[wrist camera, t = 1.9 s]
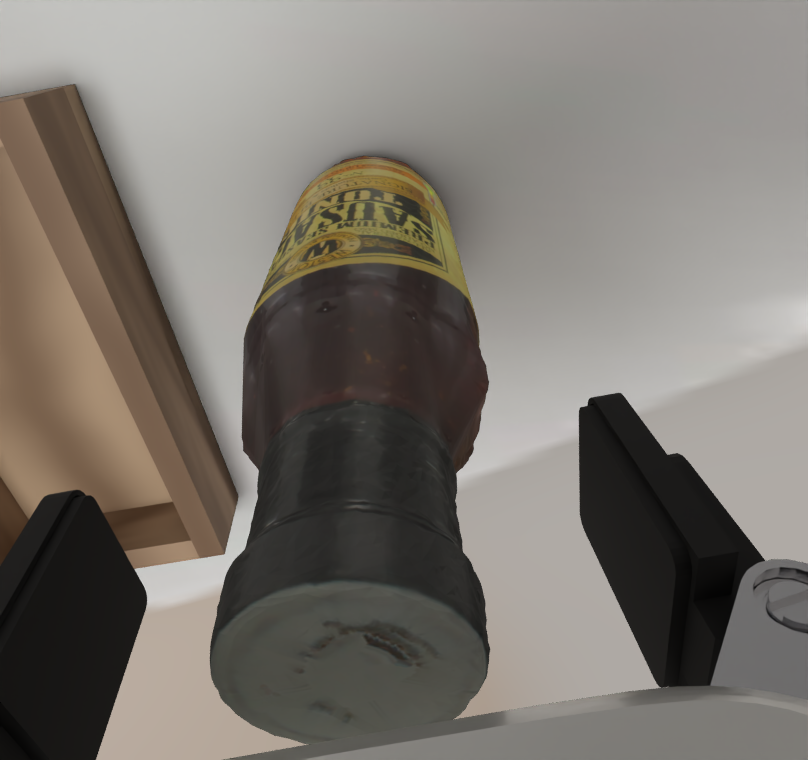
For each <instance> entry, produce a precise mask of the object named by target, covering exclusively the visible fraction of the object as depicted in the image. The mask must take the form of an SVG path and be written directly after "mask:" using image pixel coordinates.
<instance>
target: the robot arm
mask: <svg viewBox="0 0 808 760" xmlns="http://www.w3.org/2000/svg"><path fill="white" fill-rule="evenodd" d="M579 471H580V476H579V477H580V516H581V521H582V525H583V528H584V531H585V533H586V535H587V537H588V539H589V541H590V543H591V546H592V547H593V550H594V552H595V554H596V556H597V558H598V560H599V563H600V564H601V567H602V569H603V571H604V573H605V575H606V577H607V579H608V582H609V584H610V586H611V588H612V590H613V592H614V594H615V596H616V599H617V601H618V603H619V605H620V607H621V609H622V611H623V613H624V615H625V618H626V620H627V622H628V624H629V626H630V628H631V630H632V632H633V634H634V637H635V639H636V641H637V643H638V645H639V647H640V650H641V652H642V654H643V656H644V658H645V660H646V662H647V664H648V666H649V669H650V671H651V673H652V675H653V677H654V679H655V681H656V683H657V684H658V685H659V687H661V688H658V689H648V690H638V691H628V692H621V693H615V694H608V695H602V696H596V697H589V698H582V699H576V700H569V701H562V702H556V703H549V704H543V705H536V706H531V707H524V708H518V709H513V710H507V711H501V712H495V713H489V714H484V715H477V716H472V717H466V718H460V719H454V720H448V721H442V722H436V723H430V724H424V725H419V726H413V727H407V728H401V729H395V730H389V731H383V732H378V733H372V734H366V735H361V736H355V737H349V738H343V739H338V740H332V741H326V742H321V743H315V744H309V745H304V746H298V747H292V748H286V749H281V750H275V751H270V752H264V753H258V754H253V755H247V756H242V757H236V758H230V759H224V760H808V564H807V563H803V562H797V561H793V560H787V559H783V560H782V559H771V560H768V561H765V560H764V558H763V557H762V556H761V554H760V553H759V552H758V551H757V549H756V548H755V547H754V545H753V544H752V543H751V542H750V540H749V539H748V538H747V537H746V535H745V534H744V533H743V531H742V530H741V529H740V527H739V526H738V525H737V524H736V522H735V521H734V520H733V518H732V517H731V516H730V515H729V513H728V512H727V511H726V509H725V508H724V507H723V506H722V504H721V503H720V502H719V501H718V499H717V498H716V497H715V496H714V494H713V493H712V491H711V490H710V489H709V488H708V486H707V485H706V484H705V482H704V481H703V480H702V479H701V477H700V476H699V475H698V473H697V472H696V471H695V470H694V468H693V467H692V466H691V464H690V463H689V462H688V461H687V460H686V459H685V458H684V457H683V456H682V455H680V454H678V453H676V454H670V455H667V454H666V453H665V451H664V450H663V448H662V447H661V446H660V444H659V443H658V442H657V440H656V439H655V438H654V436H653V435H652V434H651V433H650V431H649V430H648V428H647V427H646V426H645V424H644V423H643V421H642V420H641V419H640V417H639V416H638V415H637V413H636V412H635V411H634V409H633V408H632V407H631V405H630V404H629V403H628V401H627V400H626V398H625V397H624V396H623V395H622V394H621V393H615V394H609V395H604V396H598V397H592V398H590V399H589V401H588V406H585V407H581V408H580V410H579ZM146 605H147V595H146V590H145V588H144V586H143V584H142V582H141V581H140V579H139V577H138V575H137V573H136V572H135V570H134V568H133V566H132V564H131V563H130V561H129V559H128V557H127V555H126V554H125V552H124V550H123V548H122V546H121V545H120V543H119V541H118V539H117V537H116V536H115V534H114V532H113V530H112V528H111V527H110V525H109V523H108V521H107V519H106V518H105V516H104V514H103V512H102V510H101V509H100V507H99V505H98V503H97V501H96V500H95V498H94V497H92V496H91V495H85V493H84V492H82V491H81V490H71V491H66V492H60V493H54V494H49V495H46V496H44V498H43V499H42V500H41V501H40V503H39V504H38V506H37V508H36V509H35V511H34V513H33V514H32V516H31V517H30V519H29V521H28V522H27V524H26V525H25V527H24V529H23V530H22V532H21V533H20V535H19V537H18V538H17V540H16V541H15V543H14V545H13V546H12V548H11V549H10V551H9V553H8V554H7V556H6V557H5V559H4V561H3V562H2V564H1V566H0V760H96V757H97V754H98V751H99V748H100V745H101V742H102V739H103V736H104V733H105V730H106V727H107V724H108V721H109V718H110V715H111V712H112V709H113V706H114V703H115V700H116V697H117V694H118V691H119V688H120V685H121V682H122V679H123V676H124V673H125V670H126V667H127V664H128V661H129V658H130V655H131V652H132V649H133V646H134V642H135V640H136V637H137V634H138V631H139V628H140V625H141V622H142V619H143V616H144V613H145V610H146ZM663 687H667V688H663Z"/></svg>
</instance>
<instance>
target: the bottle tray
mask: <svg viewBox="0 0 808 760" xmlns="http://www.w3.org/2000/svg"><path fill="white" fill-rule="evenodd" d="M71 490H81V491H82V492H84V493H85V495H91V496H92V497H94V498H95V500H96V501H97V503H98V505H99V507H100V509H101V510H102V512H103V514H104V516H105V518H106V519H107V521H108V523H109V525H110V527H111V528H112V530H113V532H114V534H115V536H116V537H117V539H118V541H119V543H120V545H121V546H122V548H123V550H124V552H125V554H126V555H127V557H128V559H129V561H130V563H131V564H132V566H133V568H134V569H136V568H142V567H148V566H154V565H161V564H167V563H173V562H179V561H186V560H192V559H198V558H204V557H211V556H217V555H223V554H225V550H226V546H227V542H228V538H229V534H230V530H231V525H232V521H233V517H234V513H235V509H236V505H237V501H238V494H237V492H236V489H235V487H234V484H233V482H232V479H231V477H230V474H229V472H228V469H227V467H226V464H225V462H224V459H223V456H222V454H221V451H220V449H219V446H218V444H217V441H216V439H215V436H214V434H213V431H212V429H211V426H210V424H209V421H208V419H207V416H206V414H205V411H204V409H203V406H202V404H201V401H200V399H199V396H198V394H197V391H196V388H195V386H194V383H193V381H192V378H191V376H190V373H189V371H188V368H187V366H186V363H185V361H184V358H183V356H182V353H181V351H180V348H179V346H178V343H177V341H176V338H175V336H174V333H173V331H172V328H171V326H170V323H169V320H168V318H167V315H166V313H165V310H164V308H163V305H162V303H161V300H160V298H159V295H158V293H157V290H156V288H155V285H154V283H153V280H152V278H151V275H150V273H149V270H148V268H147V265H146V263H145V260H144V258H143V255H142V252H141V250H140V247H139V245H138V242H137V240H136V237H135V235H134V232H133V230H132V227H131V225H130V222H129V220H128V217H127V215H126V212H125V210H124V207H123V205H122V202H121V200H120V197H119V195H118V192H117V190H116V187H115V184H114V182H113V179H112V177H111V174H110V172H109V169H108V167H107V164H106V162H105V159H104V157H103V154H102V152H101V149H100V147H99V144H98V142H97V139H96V137H95V134H94V132H93V129H92V127H91V124H90V122H89V119H88V116H87V114H86V111H85V109H84V106H83V104H82V101H81V99H80V96H79V94H78V91H77V89H76V86H75V84H73V85H67V86H62V87H56V88H51V89H45V90H40V91H34V92H29V93H23V94H18V95H12V96H6V97H1V98H0V566H1V564H2V562H3V561H4V559H5V557H6V556H7V554H8V553H9V551H10V549H11V548H12V546H13V545H14V543H15V541H16V540H17V538H18V537H19V535H20V533H21V532H22V530H23V529H24V527H25V525H26V524H27V522H28V521H29V519H30V517H31V516H32V514H33V513H34V511H35V509H36V508H37V506H38V504H39V503H40V501H41V500H42V499H43V498H44V496H46V495H49V494H54V493H60V492H66V491H71Z"/></svg>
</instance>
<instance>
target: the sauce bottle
mask: <svg viewBox="0 0 808 760" xmlns="http://www.w3.org/2000/svg"><path fill="white" fill-rule="evenodd" d="M488 385H489V381H488V376H487V370H486V364H485V362H484V360H483V358H482V356H481V350H480V348H479V329H478V323H477V320H476V316H475V312H474V309H473V305H472V302H471V298H470V295H469V291H468V287H467V284H466V280H465V277H464V274H463V270H462V266H461V262H460V258H459V255H458V251H457V248H456V245H455V242H454V238H453V235H452V231H451V227H450V223H449V219H448V215H447V213H446V210H445V208H444V206H443V204H442V202H441V200H440V198H439V197H438V195H437V194H436V192H435V191H434V189H433V188H432V187H431V186H430V185H429V184H428V183H427V182H426V181H425V180H424V179H423V178H422V177H421V176H420V175H418V174H417V173H416V172H415V171H413V170H412V169H411V168H410V167H409V166H408V165H407V164H405V163H403V162H400V161H396V160H392V159H388V158H380V157H367V156H362V157H358V158H355V159H347V160H343V161H341V162H340V163H339V164H336V165H334V166H333V167H332V168H330V169H329V170H327V171H325V172H323V173H322V174H321V175H319V176H318V177H317V178H316V179H315V180H313V181H312V182H311V183H310V184H309V186H308V187H307V188H306V189H305V191H304V192H303V194H302V195H301V197H300V199H299V201H298V203H297V205H296V207H295V209H294V212H293V214H292V216H291V219H290V221H289V224H288V226H287V229H286V231H285V233H284V236H283V239H282V241H281V244H280V246H279V248H278V251H277V253H276V256H275V258H274V260H273V263H272V265H271V267H270V269H269V273H268V275H267V278H266V280H265V283H264V285H263V289H262V291H261V294H260V296H259V298H258V300H257V302H256V305H255V307H254V311H253V314H252V316H251V318H250V321H249V323H248V325H247V328H246V332H245V337H244V359H243V405H242V440H243V451H244V452H245V453H246V454H247V455H248V456H249V459H250V460H251V461H252V462H253V464H254V465H255V466H256V467H257V468H258V470H259V475H258V485H257V487H258V490H257V493H258V500H257V503H256V507H255V511H254V516H253V520H252V522H251V529H250V533H249V537H248V540H247V545H246V548H245V550H244V551H243V552H242V553H241V554H240V555H239V556H238V557H237V558H236V559H235V560H234V561H233V563H232V565H231V566H230V568H229V570H228V572H227V574H226V577H225V580H224V585H223V589H222V593H221V596H220V602H219V604H218V607H217V617H216V621H215V626H214V630H213V634H212V639H211V646H210V668H211V677H212V680H213V683H214V685H215V687H216V688H217V689H218V691H219V694H220V697H221V699H222V700H223V701H224V702H225V704H227V705H228V706H229V707H230V708H231V709H232V710H233V711H234V712H235V713H236V714H237V715H238V716H240V717H241V718H243V719H244V720H246V721H247V722H249V723H250V724H251V725H253V726H255V727H257V728H260V729H262V730H264V731H266V732H269V733H270V734H273V735H275V736H279V737H284V738H289V739H292V740H295V741H298V742H301V743H304V744H315V743H321V742H326V741H332V740H338V739H343V738H349V737H355V736H361V735H366V734H372V733H378V732H383V731H389V730H395V729H401V728H407V727H413V726H419V725H424V724H430V723H436V722H442V721H448V720H453V719H454V718H456V717H457V716H459V715H460V714H461V713H462V712H463V711H464V710H465V709H466V707H467V705H468V703H469V701H470V700H471V699H472V698H473V697H474V696H475V695H476V694H477V693H478V692H479V690H480V688H481V686H482V684H483V683H484V681H485V679H486V676H487V670H488V664H489V652H490V647H489V644H488V636H487V631H486V613H485V599H484V595H483V590H482V586H481V583H480V581H479V579H478V577H477V575H476V573H475V572H474V570H473V567H472V564H471V562H470V561H469V559H468V558H467V556H466V555H465V554H464V553H463V550H462V538H461V534H460V529H459V522H458V518H457V514H456V508H457V506H456V503H455V499H456V494H457V477H456V473H457V472H458V471H459V470H460V469H461V468H463V466H464V465H465V464H466V463H467V461H468V460H469V457H470V456H471V455H472V453H473V450H474V446H473V443H474V440H475V439H476V437H477V434H478V432H479V428H480V421H481V410H482V408H483V405H484V403H485V398H486V393H487V391H488Z"/></svg>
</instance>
